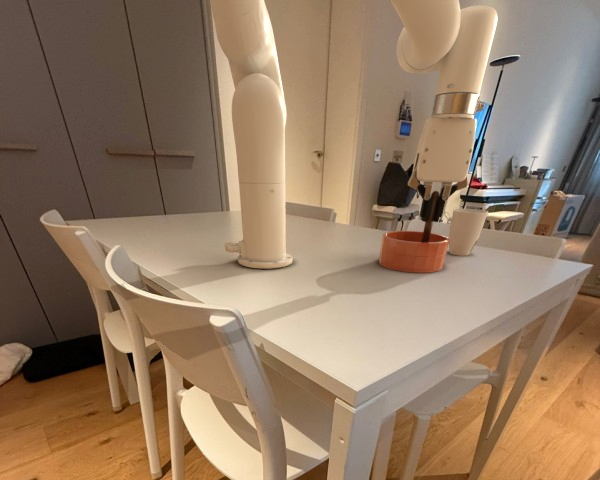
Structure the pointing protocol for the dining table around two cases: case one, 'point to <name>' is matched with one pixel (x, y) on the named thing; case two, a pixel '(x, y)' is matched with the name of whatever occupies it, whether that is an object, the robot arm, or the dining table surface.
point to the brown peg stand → (430, 217)
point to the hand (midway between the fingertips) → (429, 220)
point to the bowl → (413, 251)
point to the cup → (465, 230)
